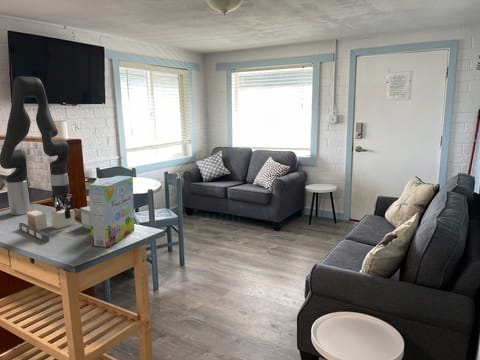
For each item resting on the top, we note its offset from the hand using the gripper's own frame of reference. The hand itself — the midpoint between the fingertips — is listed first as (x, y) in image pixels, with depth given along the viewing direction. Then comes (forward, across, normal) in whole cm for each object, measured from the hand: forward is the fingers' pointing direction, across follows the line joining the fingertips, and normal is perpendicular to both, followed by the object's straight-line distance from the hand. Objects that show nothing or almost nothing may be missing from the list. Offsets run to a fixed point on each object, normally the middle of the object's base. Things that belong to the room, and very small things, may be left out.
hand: (63, 216), depth 171 cm
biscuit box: (+4, 0, 0) cm, 4 cm away
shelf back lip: (+4, +3, +11) cm, 12 cm away
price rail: (+4, +3, -15) cm, 16 cm away
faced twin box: (+4, -7, -9) cm, 12 cm away
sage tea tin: (+4, +12, +7) cm, 14 cm away
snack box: (+5, +34, +5) cm, 34 cm away
